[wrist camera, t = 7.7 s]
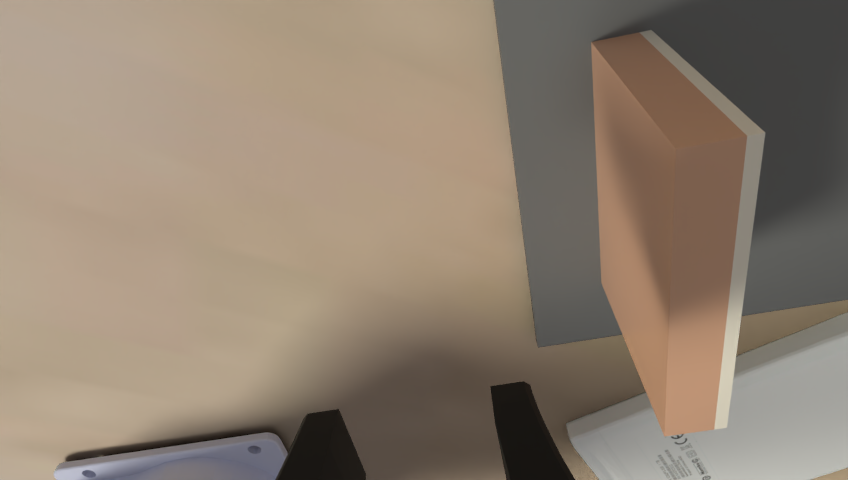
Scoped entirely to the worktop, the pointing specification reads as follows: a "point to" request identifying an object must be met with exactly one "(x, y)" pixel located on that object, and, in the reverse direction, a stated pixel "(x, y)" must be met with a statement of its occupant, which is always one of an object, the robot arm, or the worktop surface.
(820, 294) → the mat
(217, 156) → the worktop surface
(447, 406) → the worktop surface
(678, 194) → the tile
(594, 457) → the external hard drive
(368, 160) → the worktop surface
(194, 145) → the worktop surface
